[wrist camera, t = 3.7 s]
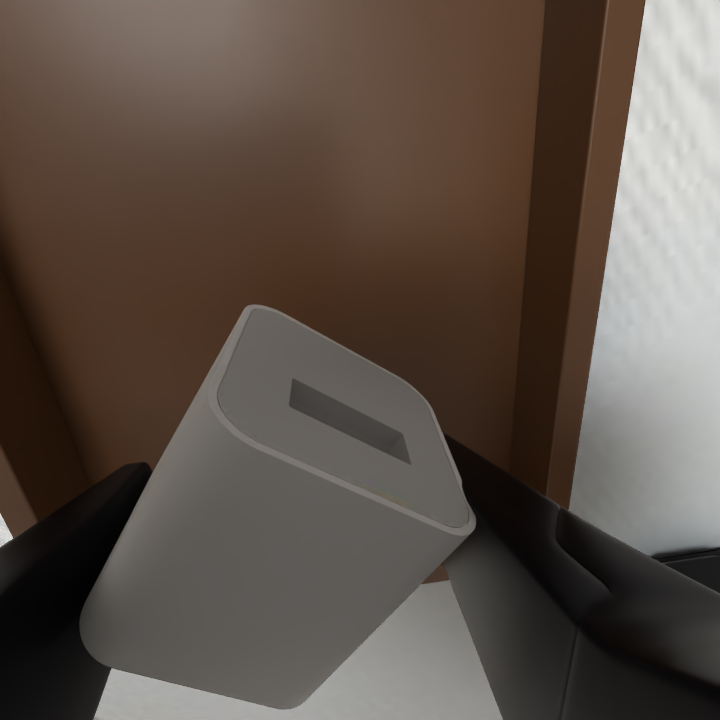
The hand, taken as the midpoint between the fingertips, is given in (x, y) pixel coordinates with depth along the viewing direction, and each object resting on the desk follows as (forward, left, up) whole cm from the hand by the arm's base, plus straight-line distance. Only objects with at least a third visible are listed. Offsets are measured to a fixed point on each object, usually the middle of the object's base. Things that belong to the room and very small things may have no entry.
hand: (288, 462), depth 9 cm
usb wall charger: (0, +1, -1) cm, 1 cm away
